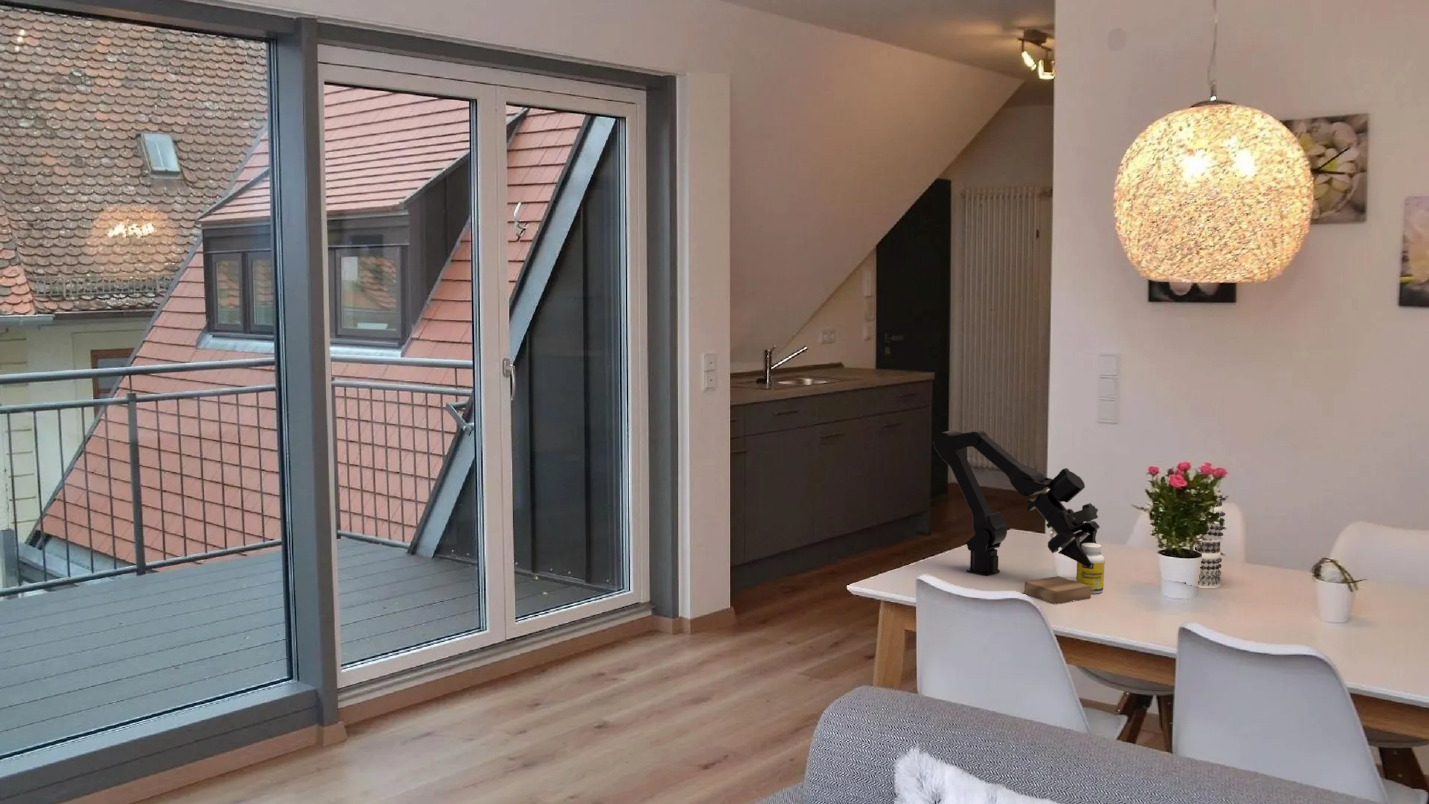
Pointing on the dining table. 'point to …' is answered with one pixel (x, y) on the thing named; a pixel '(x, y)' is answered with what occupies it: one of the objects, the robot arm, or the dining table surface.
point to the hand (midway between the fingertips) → (1096, 563)
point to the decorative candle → (1211, 552)
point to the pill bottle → (1092, 568)
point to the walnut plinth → (1057, 589)
